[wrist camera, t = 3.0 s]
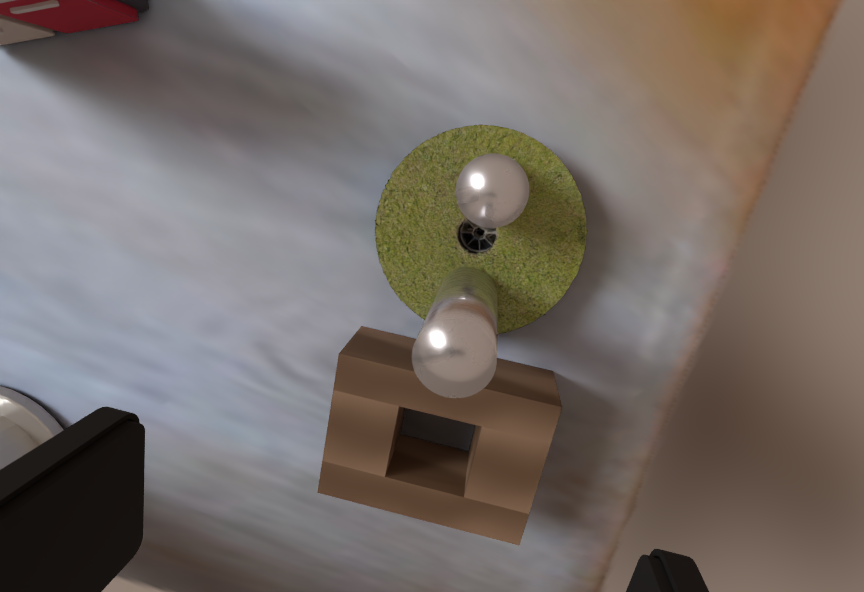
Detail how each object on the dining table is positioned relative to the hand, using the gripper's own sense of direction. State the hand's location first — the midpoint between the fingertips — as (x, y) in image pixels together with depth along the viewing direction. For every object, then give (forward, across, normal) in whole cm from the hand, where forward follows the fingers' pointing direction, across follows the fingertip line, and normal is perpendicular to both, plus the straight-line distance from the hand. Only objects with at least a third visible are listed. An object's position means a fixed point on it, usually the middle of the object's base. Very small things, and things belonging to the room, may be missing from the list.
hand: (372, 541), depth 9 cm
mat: (+21, 0, -3) cm, 21 cm away
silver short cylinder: (+19, -1, -6) cm, 20 cm away
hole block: (+21, 0, +9) cm, 23 cm away
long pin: (+19, -1, 0) cm, 19 cm away
